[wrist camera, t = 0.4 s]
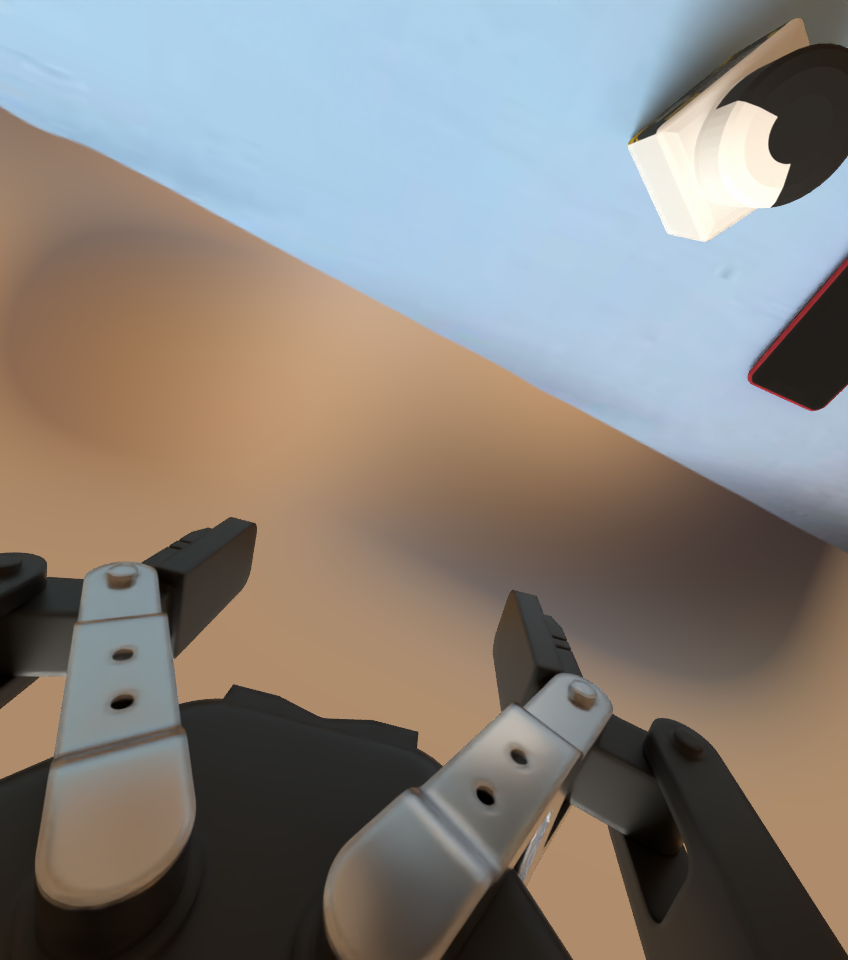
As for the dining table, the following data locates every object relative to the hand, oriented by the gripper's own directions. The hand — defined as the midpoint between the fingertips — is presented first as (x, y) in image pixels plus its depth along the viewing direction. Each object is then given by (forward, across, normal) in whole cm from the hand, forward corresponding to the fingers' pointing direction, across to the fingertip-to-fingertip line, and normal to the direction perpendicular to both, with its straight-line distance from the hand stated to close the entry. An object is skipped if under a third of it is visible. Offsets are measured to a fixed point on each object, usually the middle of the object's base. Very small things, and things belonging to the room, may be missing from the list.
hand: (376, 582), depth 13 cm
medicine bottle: (+24, -13, -25) cm, 37 cm away
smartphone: (+26, -30, -19) cm, 43 cm away
